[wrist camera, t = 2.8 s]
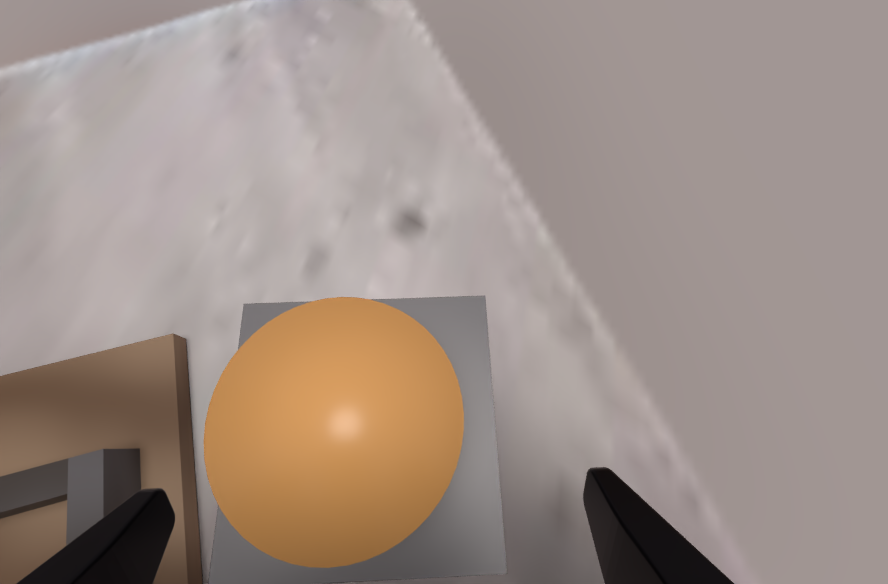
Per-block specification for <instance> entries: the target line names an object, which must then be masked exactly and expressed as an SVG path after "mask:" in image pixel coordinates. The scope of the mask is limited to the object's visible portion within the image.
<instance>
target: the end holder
mask: <svg viewBox="0 0 888 584" xmlns="http://www.w3.org/2000/svg"><path fill="white" fill-rule="evenodd" d="M150 488H162V489H163V490H165V492H166V494H167V496H168V498H169V501H170V503H171V505H172V508H173V510H174V513H175V524H174V528H173V530H172V533H171V536H170V538H169V541H168V544H167V547H166V549H165V552H164V555H163V558H162V560H161V563H160V566H159V568H158V571H157V574H156V577H155V579H154V582H153V584H202V569H201V554H200V540H199V525H198V511H197V496H196V481H195V467H194V452H193V438H192V423H191V408H190V394H189V379H188V365H187V350H186V339H185V338H182V337H180V336H178V335H175V334H170V335H166V336H161V337H157V338H153V339H149V340H145V341H141V342H137V343H133V344H129V345H125V346H121V347H117V348H113V349H109V350H105V351H101V352H96V353H92V354H88V355H84V356H80V357H76V358H72V359H68V360H64V361H60V362H56V363H52V364H48V365H44V366H40V367H36V368H32V369H27V370H23V371H19V372H15V373H11V374H7V375H3V376H0V584H16V583H17V582H19V581H20V580H21V579H23V578H24V577H25V576H27V575H28V574H29V573H31V572H32V571H33V570H35V569H36V568H37V567H39V566H40V565H41V564H43V563H44V562H45V561H47V560H48V559H49V558H50V557H52V556H53V555H54V554H56V553H57V552H58V551H60V550H61V549H62V548H64V547H65V546H66V545H68V544H69V543H70V542H72V541H73V540H74V539H76V538H77V537H78V536H80V535H81V534H82V533H83V532H85V531H86V530H87V529H89V528H90V527H91V526H93V525H94V524H95V523H97V522H98V521H99V520H101V519H102V518H103V517H105V516H106V515H107V514H109V513H110V512H111V511H113V510H114V509H115V508H116V507H118V506H119V505H120V504H122V503H123V502H124V501H126V500H127V499H128V498H130V497H131V496H132V495H134V494H135V493H136V492H138V491H140V490H142V489H150Z"/></svg>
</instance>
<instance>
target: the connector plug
mask: <svg viewBox="0 0 888 584" xmlns="http://www.w3.org/2000/svg"><path fill="white" fill-rule="evenodd" d="M204 459H205V465H206V471H207V476H208V480H209V483H210V486H211V489H212V492H213V495H214V497H215V499H216V501H217V503H218V510H217V518H216V526H215V534H214V542H213V550H212V558H211V565H210V573H209V581H208V584H325V583H344V582H363V581H383V580H402V579H421V578H440V577H459V576H478V575H497V574H507V565H506V553H505V540H504V528H503V515H502V502H501V490H500V477H499V464H498V452H497V439H496V426H495V414H494V401H493V388H492V376H491V363H490V350H489V338H488V325H487V312H486V300H485V296H460V297H431V298H401V299H372V300H369V299H362V298H354V297H337V298H327V299H322V300H317V301H312V302H284V303H254V304H244V307H243V314H242V322H241V330H240V338H239V346H238V351H237V352H236V353H235V355H234V356H233V357H232V358H231V360H230V362H229V363H228V365H227V366H226V368H225V370H224V371H223V373H222V375H221V377H220V379H219V381H218V383H217V385H216V387H215V390H214V392H213V395H212V398H211V401H210V404H209V408H208V413H207V417H206V422H205V432H204Z"/></svg>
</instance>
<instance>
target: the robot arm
mask: <svg viewBox="0 0 888 584" xmlns="http://www.w3.org/2000/svg"><path fill="white" fill-rule="evenodd" d="M583 500H584V506H585V510H586V514H587V517H588V521H589V525H590V529H591V533H592V537H593V540H594V544H595V548H596V552H597V556H598V559H599V563H600V567H601V571H602V574H603V578H604V581H605V584H734V583H733V582H732V581H731V580H730V579H729V578H728V577H726V576H725V575H724V574H723V573H722V572H721V571H720V570H719V569H718V568H717V567H716V566H714V565H713V564H712V563H711V562H710V561H709V560H708V559H707V558H706V557H705V556H704V555H703V554H701V553H700V552H699V551H698V550H697V549H696V548H695V547H694V546H693V545H692V544H691V543H690V542H688V541H687V540H686V539H685V538H684V537H683V536H682V535H681V534H680V533H679V532H678V531H677V530H675V529H674V528H673V527H672V526H671V525H670V524H669V523H668V522H667V521H666V520H665V519H664V518H662V517H661V516H660V515H659V514H658V513H657V512H656V511H655V510H654V509H653V508H652V507H651V506H649V505H648V504H647V503H646V502H645V501H644V500H643V499H642V498H641V497H640V496H639V495H638V494H636V493H635V492H634V491H633V490H632V489H631V488H630V487H629V486H628V485H627V484H626V483H625V482H623V481H622V480H621V479H620V478H619V477H618V476H617V475H616V474H615V473H614V472H613V471H612V470H610V469H609V468H606V467H599V468H590V469H589V470H588V472H587V476H586V482H585V488H584V493H583ZM174 524H175V513H174V510H173V508H172V505H171V503H170V501H169V498H168V496H167V494H166V492H165V490H163V489H162V488H150V489H142V490H140V491H138V492H136V493H135V494H134V495H132V496H131V497H130V498H128V499H127V500H126V501H124V502H123V503H122V504H120V505H119V506H118V507H116V508H115V509H114V510H113V511H111V512H110V513H109V514H107V515H106V516H105V517H103V518H102V519H101V520H99V521H98V522H97V523H95V524H94V525H93V526H91V527H90V528H89V529H87V530H86V531H85V532H83V533H82V534H81V535H80V536H78V537H77V538H76V539H74V540H73V541H72V542H70V543H69V544H68V545H66V546H65V547H64V548H62V549H61V550H60V551H58V552H57V553H56V554H54V555H53V556H52V557H50V558H49V559H48V560H47V561H45V562H44V563H43V564H41V565H40V566H39V567H37V568H36V569H35V570H33V571H32V572H31V573H29V574H28V575H27V576H25V577H24V578H23V579H21V580H20V581H19V582H17V583H16V584H153V582H154V579H155V577H156V574H157V571H158V568H159V566H160V563H161V560H162V558H163V555H164V552H165V549H166V547H167V544H168V541H169V538H170V536H171V533H172V530H173V528H174Z"/></svg>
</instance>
